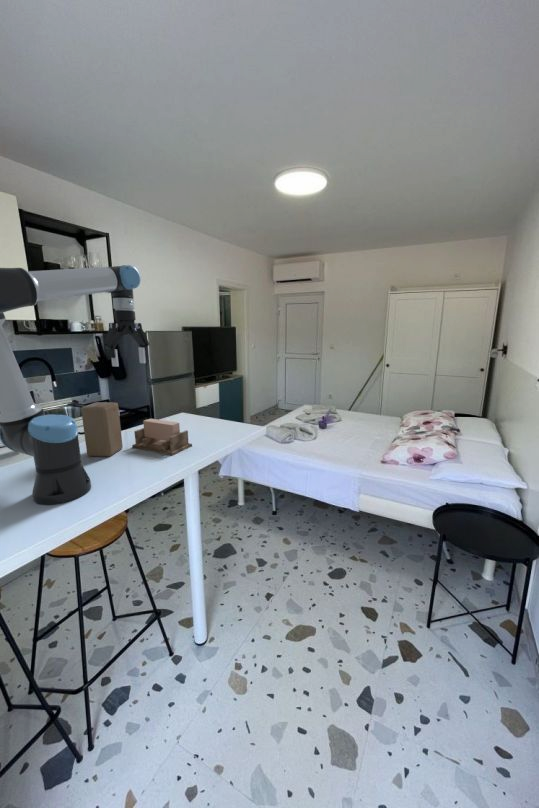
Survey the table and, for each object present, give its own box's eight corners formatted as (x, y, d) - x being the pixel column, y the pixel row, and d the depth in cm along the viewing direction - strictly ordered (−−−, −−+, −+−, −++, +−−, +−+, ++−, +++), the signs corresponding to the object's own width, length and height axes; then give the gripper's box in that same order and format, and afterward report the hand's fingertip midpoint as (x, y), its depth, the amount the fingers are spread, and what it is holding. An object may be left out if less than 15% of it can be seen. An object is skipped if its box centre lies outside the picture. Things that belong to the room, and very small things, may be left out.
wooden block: (123, 448, 139) (118, 402, 135) (110, 457, 129) (104, 407, 125) (101, 447, 140) (95, 401, 136) (86, 456, 130) (79, 407, 126)
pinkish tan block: (173, 441, 135) (172, 425, 133) (144, 436, 142) (143, 420, 140) (180, 438, 138) (179, 422, 137) (151, 434, 145) (150, 418, 144)
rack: (172, 455, 131) (171, 438, 129) (132, 447, 140) (130, 431, 139) (192, 446, 141) (191, 430, 140) (153, 439, 151) (152, 424, 149)
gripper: (102, 308, 117) (109, 368, 122) (155, 311, 139) (159, 362, 143) (88, 308, 120) (95, 367, 125) (142, 311, 142) (146, 361, 147)
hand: (129, 364), depth 134 cm, fingers open, 13 cm apart
